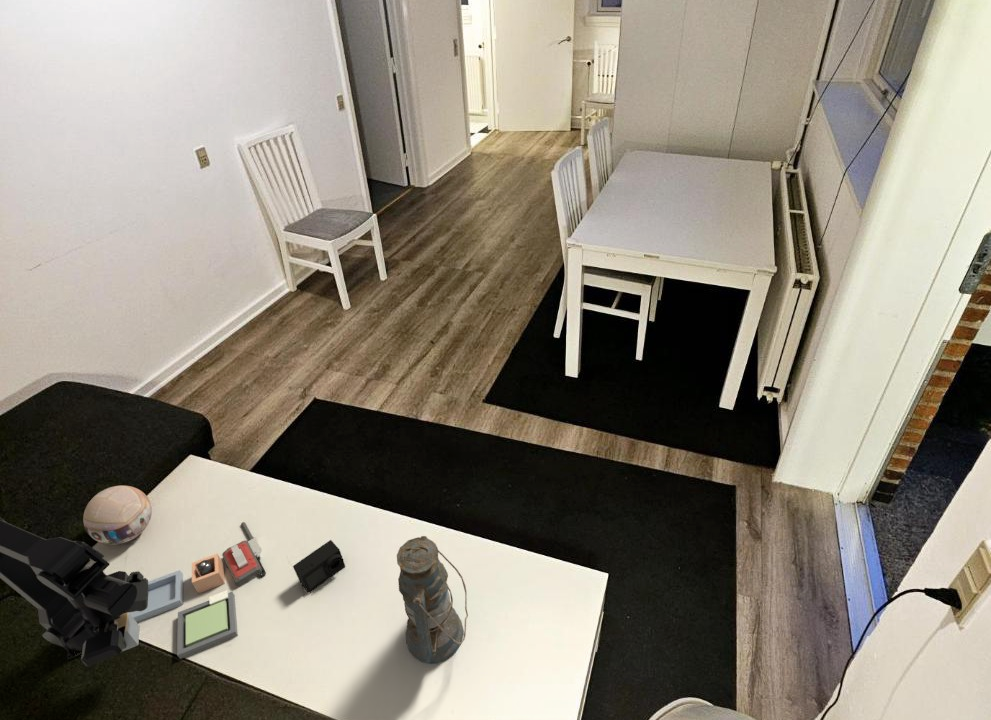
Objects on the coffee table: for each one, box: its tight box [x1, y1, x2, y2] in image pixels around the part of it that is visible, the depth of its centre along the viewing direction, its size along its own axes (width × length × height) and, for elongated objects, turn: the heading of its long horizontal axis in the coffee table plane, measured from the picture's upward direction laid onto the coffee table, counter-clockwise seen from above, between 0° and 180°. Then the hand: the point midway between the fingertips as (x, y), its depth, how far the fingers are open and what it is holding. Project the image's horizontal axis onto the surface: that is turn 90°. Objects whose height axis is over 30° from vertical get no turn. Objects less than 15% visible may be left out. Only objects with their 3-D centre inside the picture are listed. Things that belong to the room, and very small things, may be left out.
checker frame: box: [176, 589, 239, 660], centre depth 129 cm, size 12×12×3 cm
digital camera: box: [292, 539, 346, 594], centre depth 137 cm, size 10×5×7 cm, turn 134°
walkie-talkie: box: [222, 521, 267, 587], centre depth 144 cm, size 9×4×20 cm
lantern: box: [396, 535, 469, 664], centre depth 117 cm, size 19×14×30 cm
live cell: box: [115, 613, 140, 652], centre depth 116 cm, size 4×4×6 cm
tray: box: [129, 569, 184, 623], centre depth 135 cm, size 13×9×2 cm
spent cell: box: [197, 560, 215, 576], centre depth 138 cm, size 3×3×6 cm
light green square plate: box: [185, 600, 229, 647], centre depth 129 cm, size 9×8×1 cm
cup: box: [191, 553, 226, 594], centre depth 138 cm, size 6×6×5 cm
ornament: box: [82, 485, 153, 546], centre depth 149 cm, size 15×15×15 cm
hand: (124, 637), depth 117 cm, fingers closed on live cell, 4 cm apart
